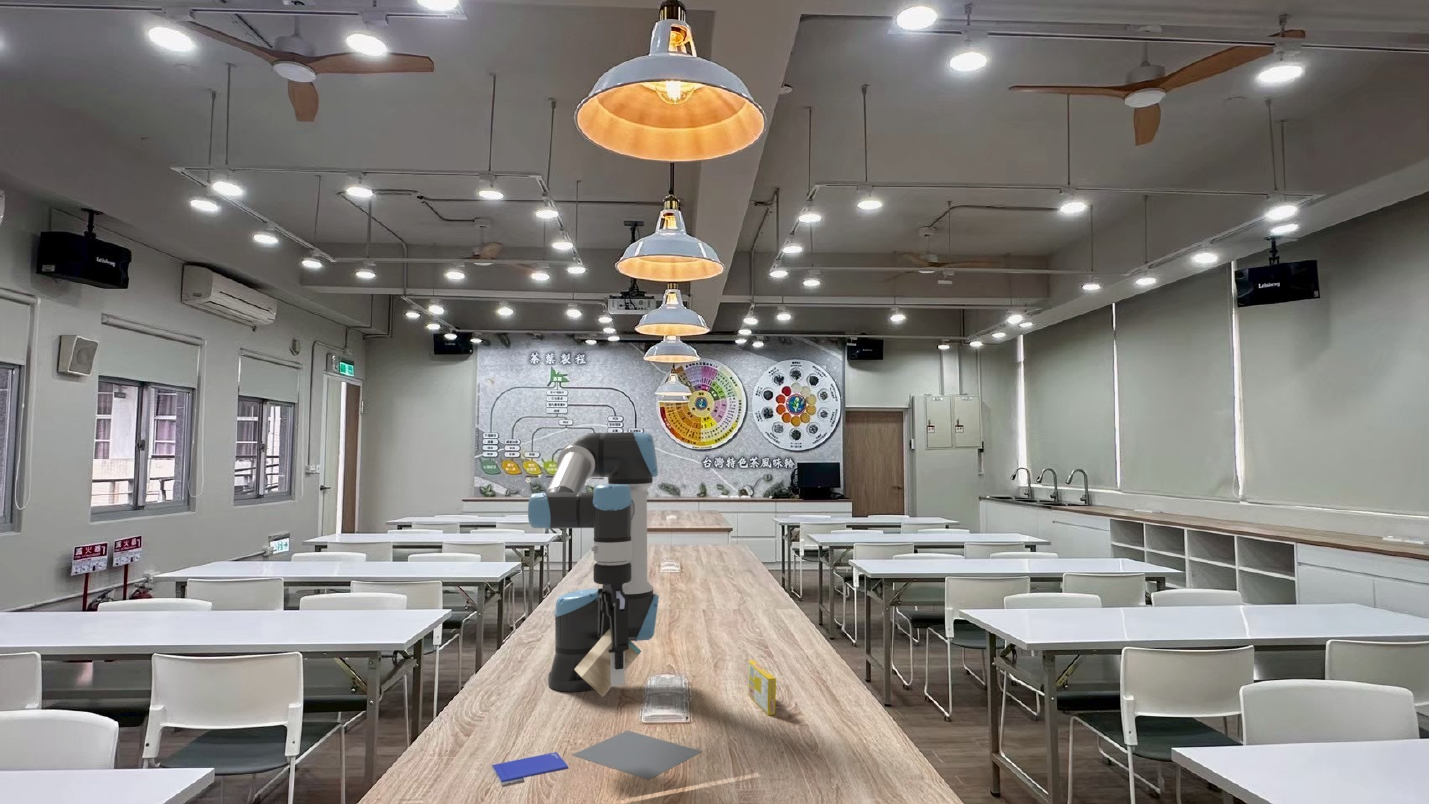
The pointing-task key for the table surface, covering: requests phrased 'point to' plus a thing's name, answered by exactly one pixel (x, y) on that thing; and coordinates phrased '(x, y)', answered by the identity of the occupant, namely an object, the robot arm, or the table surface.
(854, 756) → the table surface
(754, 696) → the candy box
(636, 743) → the slate mat
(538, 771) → the hard drive
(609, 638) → the maple block
